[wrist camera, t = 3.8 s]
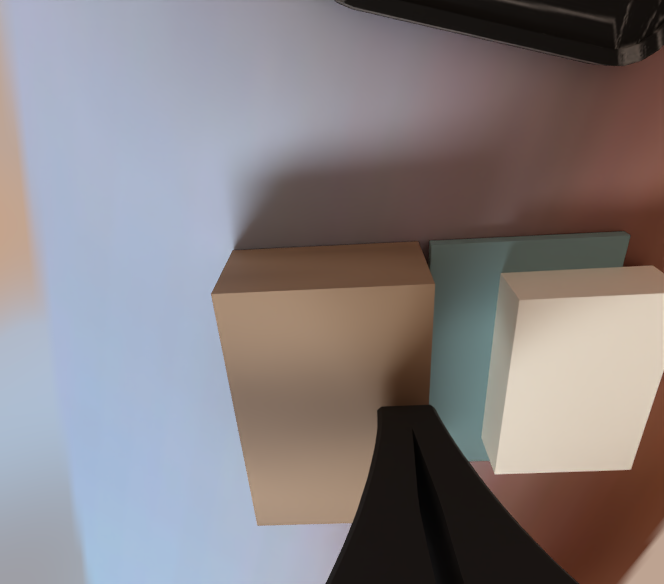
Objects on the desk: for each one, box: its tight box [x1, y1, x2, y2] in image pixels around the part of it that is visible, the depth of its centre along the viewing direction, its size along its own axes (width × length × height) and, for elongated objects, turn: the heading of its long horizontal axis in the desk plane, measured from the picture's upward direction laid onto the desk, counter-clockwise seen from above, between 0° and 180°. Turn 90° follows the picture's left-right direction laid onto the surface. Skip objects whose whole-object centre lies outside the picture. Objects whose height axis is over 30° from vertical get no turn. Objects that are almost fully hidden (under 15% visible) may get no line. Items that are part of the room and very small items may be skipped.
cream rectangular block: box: [481, 265, 664, 474], centre depth 13 cm, size 6×4×2 cm, turn 4°
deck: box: [211, 241, 435, 526], centre depth 14 cm, size 8×5×2 cm, turn 3°
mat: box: [428, 231, 631, 461], centre depth 14 cm, size 8×5×1 cm, turn 3°
